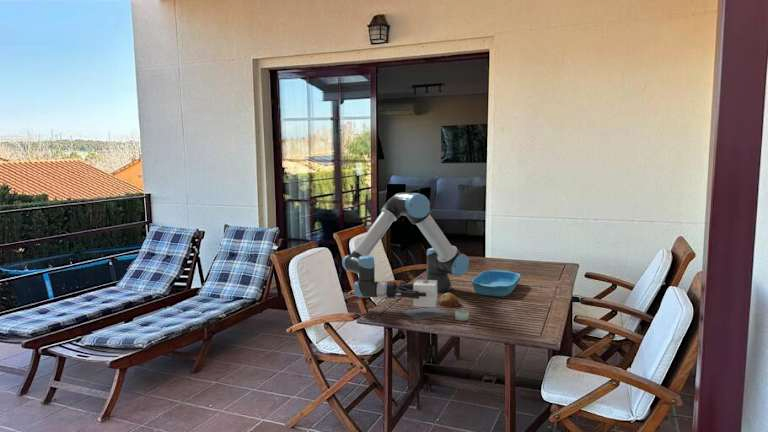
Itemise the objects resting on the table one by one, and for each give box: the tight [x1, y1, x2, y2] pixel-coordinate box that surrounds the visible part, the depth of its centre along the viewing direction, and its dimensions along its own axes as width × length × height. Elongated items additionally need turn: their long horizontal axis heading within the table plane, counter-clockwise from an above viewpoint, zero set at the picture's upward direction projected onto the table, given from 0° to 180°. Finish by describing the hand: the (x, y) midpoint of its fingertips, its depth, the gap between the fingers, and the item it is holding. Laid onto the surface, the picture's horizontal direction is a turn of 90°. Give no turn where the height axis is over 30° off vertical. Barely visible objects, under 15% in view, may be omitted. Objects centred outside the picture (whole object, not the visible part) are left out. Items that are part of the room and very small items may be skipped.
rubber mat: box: [402, 307, 451, 321], centre depth 236 cm, size 18×14×1 cm
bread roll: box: [437, 292, 461, 308], centre depth 250 cm, size 10×10×8 cm
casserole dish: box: [471, 269, 521, 297], centre depth 279 cm, size 37×22×7 cm, turn 154°
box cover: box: [412, 278, 438, 308], centre depth 235 cm, size 10×10×11 cm
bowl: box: [454, 308, 470, 322], centre depth 227 cm, size 6×6×4 cm
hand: (434, 291), depth 234 cm, fingers closed on box cover, 10 cm apart
